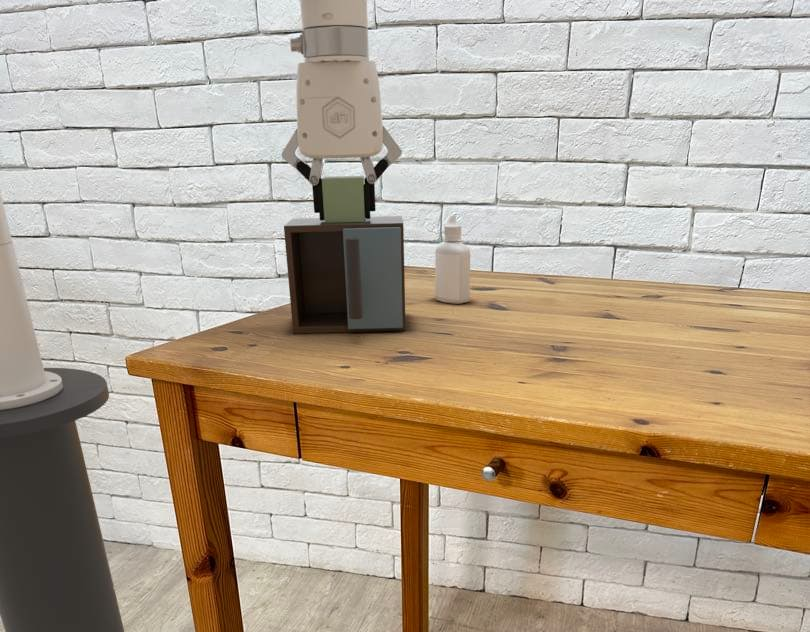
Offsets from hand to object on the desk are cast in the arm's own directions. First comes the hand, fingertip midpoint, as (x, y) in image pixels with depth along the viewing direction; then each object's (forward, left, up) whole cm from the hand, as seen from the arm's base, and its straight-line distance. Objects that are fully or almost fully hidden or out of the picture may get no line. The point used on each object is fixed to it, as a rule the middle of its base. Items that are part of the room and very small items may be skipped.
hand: (345, 217), depth 97 cm
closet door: (+1, -9, -13) cm, 15 cm away
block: (0, 0, 0) cm, 0 cm away
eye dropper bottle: (+18, +10, -14) cm, 25 cm away
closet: (0, 0, -13) cm, 13 cm away
